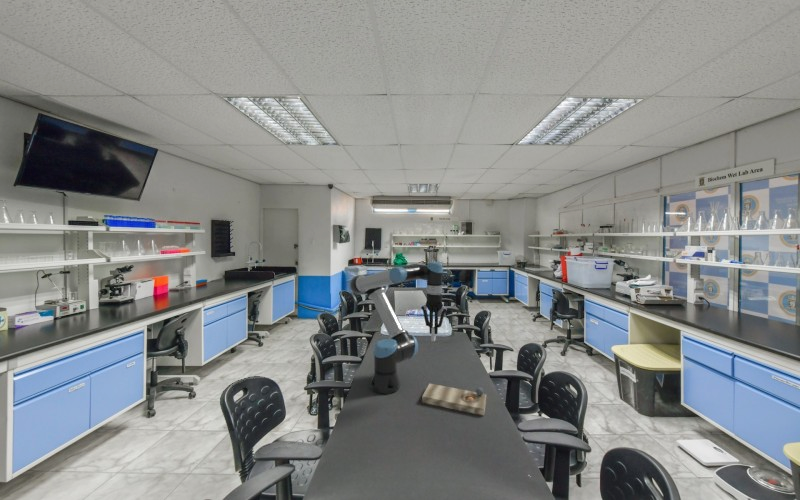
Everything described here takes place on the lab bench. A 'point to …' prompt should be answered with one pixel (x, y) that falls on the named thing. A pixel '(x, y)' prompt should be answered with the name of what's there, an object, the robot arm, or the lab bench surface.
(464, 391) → the board
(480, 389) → the grey ball
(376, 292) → the robot arm
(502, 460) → the lab bench surface
